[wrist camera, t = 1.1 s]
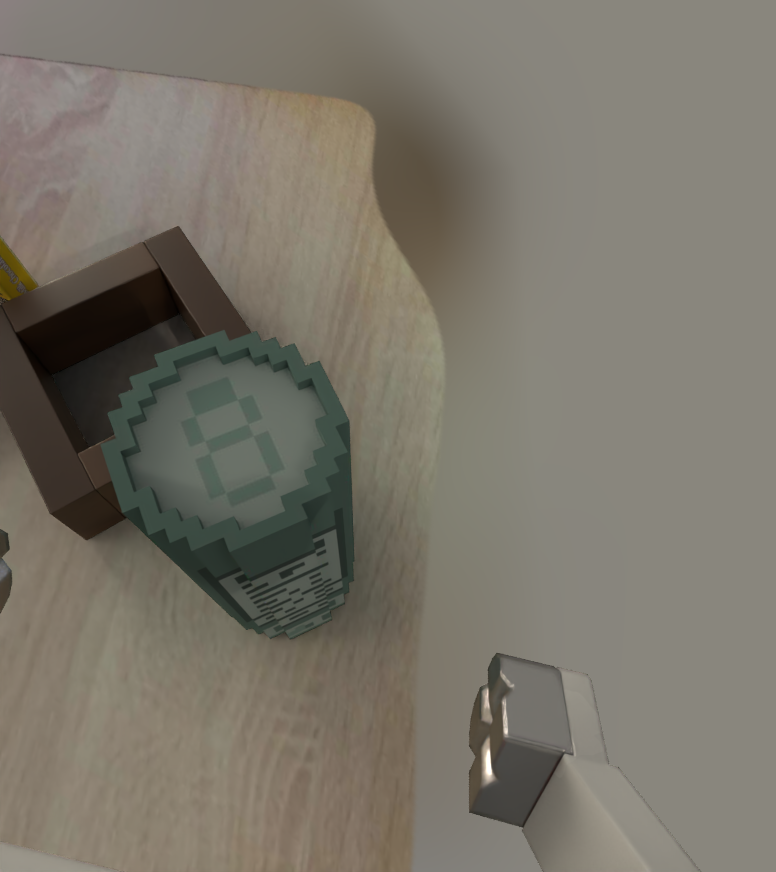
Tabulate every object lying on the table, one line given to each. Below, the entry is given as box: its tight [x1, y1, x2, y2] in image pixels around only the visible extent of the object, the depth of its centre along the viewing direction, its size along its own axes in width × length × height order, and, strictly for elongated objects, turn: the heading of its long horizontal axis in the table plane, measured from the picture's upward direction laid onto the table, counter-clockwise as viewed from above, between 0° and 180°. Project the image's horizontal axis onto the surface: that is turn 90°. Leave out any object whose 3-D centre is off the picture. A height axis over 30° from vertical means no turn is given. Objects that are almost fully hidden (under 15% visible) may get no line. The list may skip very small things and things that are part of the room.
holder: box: [0, 226, 251, 540], centre depth 32 cm, size 11×11×4 cm
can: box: [100, 330, 354, 639], centre depth 24 cm, size 6×6×15 cm
